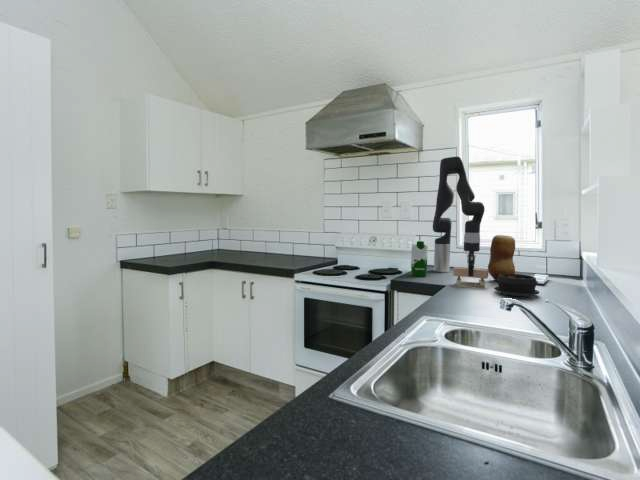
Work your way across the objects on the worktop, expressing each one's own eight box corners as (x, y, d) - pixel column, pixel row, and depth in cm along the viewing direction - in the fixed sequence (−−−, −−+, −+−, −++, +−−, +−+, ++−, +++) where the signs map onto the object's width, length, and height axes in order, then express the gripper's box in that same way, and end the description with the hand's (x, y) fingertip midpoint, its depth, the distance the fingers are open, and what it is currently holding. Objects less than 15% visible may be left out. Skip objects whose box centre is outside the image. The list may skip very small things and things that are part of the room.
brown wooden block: (454, 274, 206) (455, 267, 206) (487, 277, 198) (488, 269, 198) (453, 275, 203) (453, 267, 202) (487, 278, 195) (487, 270, 194)
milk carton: (412, 276, 225) (413, 241, 224) (410, 274, 234) (411, 240, 232) (427, 277, 224) (429, 242, 223) (425, 274, 233) (426, 240, 232)
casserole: (493, 287, 196) (493, 270, 195) (535, 291, 189) (536, 273, 188) (494, 298, 172) (495, 279, 172) (543, 302, 166) (544, 282, 165)
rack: (456, 282, 208) (456, 274, 207) (483, 284, 203) (483, 275, 203) (456, 286, 198) (457, 277, 198) (484, 288, 194) (485, 279, 194)
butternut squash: (517, 284, 206) (519, 236, 204) (489, 282, 208) (492, 235, 206) (510, 279, 219) (512, 234, 217) (484, 278, 222) (486, 233, 220)
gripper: (463, 240, 207) (462, 272, 208) (464, 242, 193) (462, 277, 195) (479, 240, 205) (477, 273, 206) (480, 242, 191) (479, 278, 192)
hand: (470, 275), depth 200 cm, fingers closed on brown wooden block, 4 cm apart
